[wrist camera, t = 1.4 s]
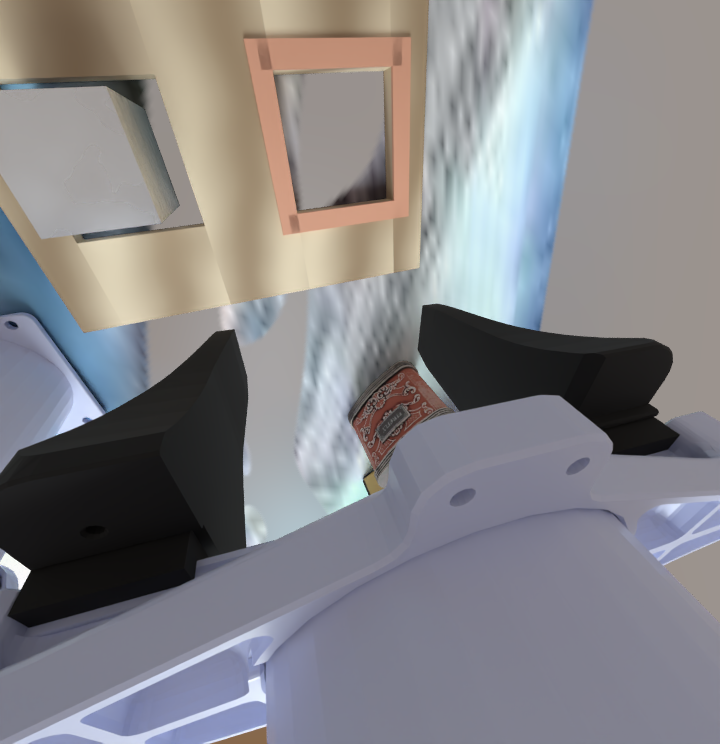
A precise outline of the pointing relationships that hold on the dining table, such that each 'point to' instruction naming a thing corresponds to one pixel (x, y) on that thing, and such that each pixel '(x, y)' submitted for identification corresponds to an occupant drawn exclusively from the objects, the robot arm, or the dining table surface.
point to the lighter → (392, 413)
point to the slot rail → (228, 146)
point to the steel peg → (82, 161)
